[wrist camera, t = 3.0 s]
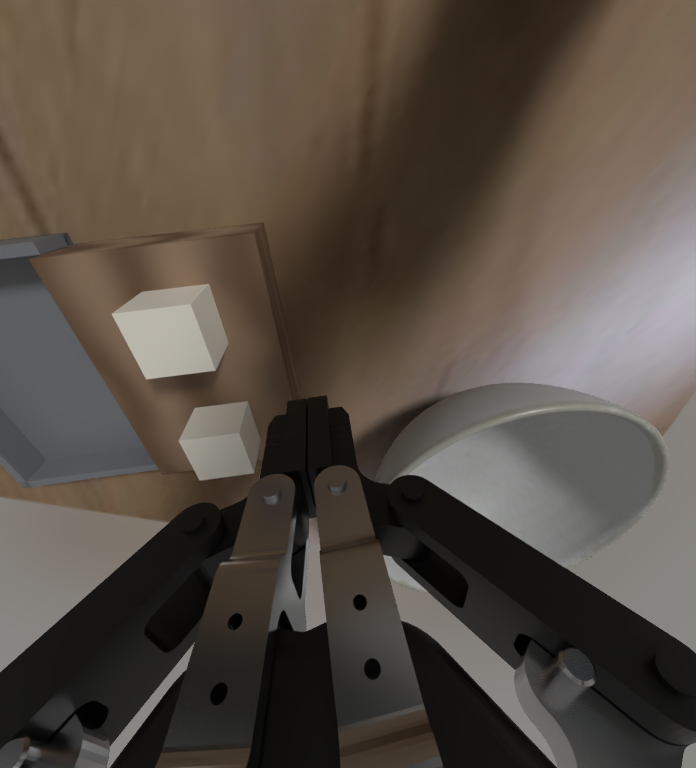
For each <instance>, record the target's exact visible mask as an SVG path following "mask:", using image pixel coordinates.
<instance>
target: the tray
mask: <svg viewBox="0 0 696 768" xmlns="http://www.w3.org/2000/svg"><path fill="white" fill-rule="evenodd" d="M72 245H73V243H72V242H71V240H70V238H69V236H68V234H67V233H61V234H52V235H43V236H34V237H26V238H17V239H8V240H0V465H1V466H2V467H3V468H4V469H5V470H6V471H7V472H8V473H9V474H10V475H11V476H12V477H13V478H14V479H15V480H16V481H17V482H18V483H19V484H20V485H21V486H22V487H23V488H26V487H34V486H41V485H49V484H56V483H63V482H71V481H78V480H86V479H93V478H101V477H108V476H116V475H123V474H130V473H138V472H145V471H153V470H159V469H158V468H157V466H156V465H155V463H154V461H153V460H152V458H151V456H150V455H149V453H148V452H147V450H146V448H145V447H144V445H143V443H142V442H141V440H140V439H139V437H138V435H137V434H136V432H135V431H134V429H133V427H132V426H131V424H130V422H129V421H128V419H127V418H126V416H125V414H124V413H123V411H122V410H121V408H120V406H119V405H118V403H117V401H116V400H115V398H114V397H113V395H112V393H111V392H110V390H109V388H108V387H107V385H106V384H105V382H104V380H103V379H102V377H101V376H100V374H99V372H98V371H97V369H96V367H95V366H94V364H93V363H92V361H91V359H90V358H89V356H88V355H87V353H86V351H85V350H84V348H83V346H82V345H81V343H80V342H79V340H78V338H77V337H76V335H75V334H74V332H73V330H72V329H71V327H70V325H69V324H68V322H67V321H66V319H65V317H64V316H63V314H62V312H61V311H60V309H59V308H58V306H57V304H56V303H55V301H54V300H53V298H52V296H51V295H50V293H49V291H48V290H47V288H46V287H45V285H44V283H43V282H42V280H41V279H40V277H39V275H38V274H37V272H36V270H35V269H34V267H33V266H32V264H31V262H30V261H29V259H31V258H34V257H38V256H41V255H44V254H47V253H50V252H53V251H57V250H60V249H63V248H66V247H69V246H72Z"/></svg>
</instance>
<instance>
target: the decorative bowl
mask: <svg viewBox="0 0 696 768" xmlns="http://www.w3.org/2000/svg"><path fill="white" fill-rule="evenodd" d="M668 469H669V454H668V449H667V446H666V443H665V441H664V439H663V437H662V436H661V434H660V433H659V432H658V430H657V429H656V428H655V427H654V426H653V425H652V424H651V423H649V422H648V421H647V420H645V419H644V418H642V417H641V416H639V415H637V414H635V413H633V412H632V411H630V410H628V409H626V408H623V407H621V406H619V405H616V404H614V403H611V402H609V401H606V400H603V399H601V398H598V397H595V396H592V395H588V394H585V393H581V392H578V391H574V390H570V389H566V388H561V387H556V386H550V385H542V384H533V383H502V384H492V385H486V386H481V387H476V388H472V389H468V390H465V391H462V392H459V393H456V394H454V395H451V396H449V397H447V398H445V399H443V400H441V401H439V402H437V403H435V404H434V405H432V406H430V407H429V408H427V409H426V410H425V411H423V412H422V413H420V414H419V415H418V416H417V417H416V418H414V419H413V420H412V421H411V422H410V423H409V424H408V425H407V426H406V427H405V428H404V429H403V430H402V431H401V433H400V434H399V435H398V436H397V438H396V439H395V440H394V442H393V443H392V445H391V446H390V448H389V449H388V451H387V453H386V454H385V456H384V458H383V460H382V462H381V464H380V466H379V468H378V471H377V473H376V476H375V479H374V482H378V483H385V484H391V483H392V482H393V481H394V480H395V479H397V478H398V477H401V476H404V475H416V476H420V477H423V478H425V479H427V480H428V481H430V482H431V483H433V484H435V485H436V486H438V487H439V488H441V489H442V490H444V491H446V492H447V493H449V494H450V495H452V496H453V497H455V498H456V499H458V500H460V501H461V502H463V503H464V504H466V505H467V506H469V507H471V508H472V509H474V510H475V511H477V512H478V513H480V514H482V515H483V516H485V517H486V518H488V519H489V520H491V521H492V522H494V523H496V524H497V525H499V526H500V527H502V528H503V529H505V530H507V531H508V532H510V533H511V534H513V535H514V536H516V537H518V538H519V539H521V540H522V541H524V542H525V543H527V544H528V545H530V546H532V547H533V548H535V549H536V550H538V551H539V552H541V553H543V554H544V555H546V556H547V557H549V558H550V559H552V560H554V561H555V562H557V563H558V564H560V565H561V566H563V567H564V568H566V569H568V568H571V567H573V566H575V565H577V564H579V563H581V562H583V561H584V560H587V559H588V558H590V557H592V556H594V555H595V554H597V553H598V552H600V551H602V550H603V549H605V548H606V547H608V546H609V545H611V544H612V543H614V542H615V541H616V540H618V539H619V538H620V537H622V536H623V535H624V534H625V533H626V532H628V531H629V530H630V529H631V528H632V527H633V526H634V525H635V524H636V523H637V522H638V521H639V520H640V519H641V518H642V517H643V516H644V515H645V514H646V513H647V512H648V510H649V509H650V508H651V506H652V505H653V504H654V502H655V501H656V499H657V498H658V496H659V494H660V492H661V491H662V489H663V486H664V484H665V482H666V478H667V475H668ZM383 557H384V560H385V564H386V568H387V571H388V575H389V579H390V580H391V581H393V582H395V583H397V584H399V585H401V586H404V587H406V588H409V589H413V590H417V591H421V592H426V593H429V592H428V591H427V590H425V589H424V588H423V587H422V586H421V585H420V584H419V583H418V582H416V581H415V580H414V579H413V578H412V577H411V576H410V575H409V574H408V573H406V572H405V571H404V570H403V569H402V568H401V567H400V566H399V565H398V564H396V562H395V561H394V560H393V559H392V557H391V556H386V555H383Z"/></svg>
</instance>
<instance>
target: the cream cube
mask: <svg viewBox="0 0 696 768" xmlns="http://www.w3.org/2000/svg"><path fill="white" fill-rule="evenodd" d="M112 316H113V318H114V320H115V322H116V323H117V325H118V327H119V329H120V331H121V333H122V335H123V337H124V339H125V341H126V342H127V344H128V346H129V348H130V350H131V352H132V354H133V356H134V358H135V359H136V361H137V363H138V365H139V367H140V369H141V371H142V373H143V375H144V376H145V378H146V379H154V378H161V377H169V376H177V375H185V374H193V373H201V372H209V371H216V369H217V367H218V365H219V363H220V360H221V358H222V356H223V354H224V352H225V350H226V348H227V346H228V344H229V343H228V340H227V337H226V334H225V331H224V328H223V325H222V322H221V319H220V316H219V313H218V310H217V307H216V304H215V301H214V298H213V295H212V292H211V289H210V286H209V284H204V285H195V286H187V287H179V288H170V289H162V290H153V291H145V292H141V293H140V294H138V295H137V296H135V297H134V298H133V299H131V300H130V301H129V302H127V303H126V304H124V305H123V306H122V307H120V308H119V309H117V310H116V311H115V312H113V313H112Z"/></svg>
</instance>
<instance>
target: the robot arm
mask: <svg viewBox="0 0 696 768" xmlns="http://www.w3.org/2000/svg"><path fill="white" fill-rule="evenodd" d="M265 445H266V446H265V449H264V456H263V462H262V468H261V475H260V480H258V481H257V482H256V483H255V484H254V485H253V486H252V488H251V489H250V491H249V494H248V497H246V498H245V499H243V500H242V501H240V502H238V503H236V504H233V505H231V506H228V507H226V508H224V509H221V510H219V509H218V507H216V506H215V505H213V504H211V503H199V504H195V505H193V506H191V507H189V508H187V509H185V510H184V511H182V512H181V513H180V514H179V515H178V516H176V517H175V518H174V519H173V520H172V521H171V522H170V523H169V524H167V525H166V526H165V527H164V528H163V529H162V530H161V531H160V532H158V533H157V534H156V535H155V536H154V537H153V538H152V539H151V540H149V541H148V542H147V543H146V544H145V545H144V546H143V547H142V548H140V549H139V550H138V551H137V552H136V553H135V554H134V555H132V556H131V557H130V558H129V559H128V560H127V561H126V562H125V563H123V564H122V565H121V566H120V567H119V568H118V569H117V570H115V571H114V572H113V573H112V574H111V575H110V576H109V577H108V578H107V579H105V580H104V581H103V582H102V583H101V584H100V585H98V586H97V587H96V588H95V589H94V590H93V591H92V592H91V593H89V594H88V595H87V596H86V597H85V598H84V599H83V600H82V601H80V602H79V603H78V604H77V605H76V606H75V607H74V608H73V609H71V610H70V611H69V612H68V613H67V614H66V615H65V616H63V617H62V618H61V619H60V620H59V621H58V622H57V623H56V624H55V625H53V626H52V627H51V628H50V629H49V630H48V631H47V632H45V633H44V634H43V635H42V636H41V637H40V638H39V639H38V640H36V641H35V642H34V643H33V644H32V645H31V646H30V647H28V648H27V649H26V650H25V651H24V652H23V653H22V654H21V655H19V656H18V657H17V658H16V659H15V660H14V661H13V662H12V663H10V664H9V665H8V666H7V667H6V668H5V669H4V670H2V671H1V672H0V768H107V763H108V759H109V752H110V746H111V744H112V743H113V742H114V741H115V740H116V738H117V737H118V736H119V734H120V733H121V732H122V731H123V729H124V728H125V727H126V726H127V725H128V723H129V722H130V721H131V719H133V717H134V716H135V715H136V714H137V712H138V711H139V710H140V709H141V707H142V706H143V705H144V703H145V702H146V701H147V700H148V699H149V698H150V696H151V695H152V694H153V693H154V691H155V690H156V689H157V688H158V686H159V685H160V684H161V683H162V682H163V680H164V679H165V678H166V677H167V675H168V674H169V673H170V672H171V670H172V669H173V668H174V667H175V665H176V664H177V663H178V662H179V661H180V659H181V658H182V657H183V656H184V654H185V653H186V652H187V651H188V649H189V648H190V647H191V646H192V645H193V643H194V642H195V643H194V647H193V650H192V653H191V657H190V660H189V663H188V666H187V670H185V671H184V672H183V673H182V675H181V676H180V677H179V678H178V679H177V680H176V681H175V682H174V684H173V685H172V686H171V687H170V688H169V690H168V691H167V692H166V694H165V695H164V696H163V698H162V699H161V700H160V702H159V703H158V704H157V706H156V707H155V708H154V710H153V711H152V712H151V714H150V715H149V716H148V718H147V719H146V720H145V722H144V723H143V724H142V726H141V727H140V728H139V730H138V731H137V732H136V734H135V735H134V736H133V737H132V739H131V740H130V741H129V743H128V744H127V745H126V747H125V748H124V749H123V751H122V752H121V753H120V755H119V756H118V757H117V759H116V760H115V761H114V763H113V764H112V765H111V767H110V768H557V767H556V766H555V765H554V764H553V763H552V762H551V761H550V760H549V759H548V758H547V757H546V756H545V755H544V754H543V753H542V751H541V750H540V749H538V747H537V746H536V745H535V744H534V743H533V742H532V741H531V740H530V739H529V738H528V737H527V736H526V735H525V734H524V732H522V730H520V728H519V727H518V726H517V725H516V724H515V723H514V722H513V721H512V720H511V719H510V718H509V717H508V716H507V715H506V714H505V713H504V712H503V710H502V709H501V708H500V707H499V706H498V705H497V704H496V703H495V702H494V701H493V700H492V699H491V698H490V697H489V696H488V695H487V693H486V692H485V691H484V690H483V689H482V688H481V687H480V686H479V685H478V684H477V683H476V682H475V681H474V680H473V679H472V678H471V677H470V676H469V675H468V673H467V672H466V671H464V669H463V668H462V667H461V666H460V665H459V664H458V663H457V662H456V661H455V660H454V659H453V658H452V657H451V656H450V655H449V653H447V652H446V650H445V649H444V648H443V647H442V646H441V645H440V644H439V643H438V642H437V641H436V640H434V639H433V638H432V637H431V636H429V635H428V634H427V633H425V632H424V631H422V630H421V629H419V628H417V627H415V626H413V625H411V624H409V623H407V622H403V621H401V619H400V615H399V612H398V608H397V605H396V601H395V597H394V593H393V590H392V586H391V582H390V579H389V575H388V571H387V568H386V564H385V560H384V557H383V555H386V556H391V557H392V559H393V560H394V561H395V562H396V564H398V565H399V566H400V567H401V568H402V569H403V570H404V571H405V572H406V573H408V574H409V575H410V576H411V577H412V578H413V579H414V580H415V581H416V582H418V583H419V584H420V585H421V586H422V587H423V588H424V589H425V590H427V591H428V592H429V593H430V594H431V595H432V596H433V597H434V598H435V599H437V600H438V601H439V602H440V603H441V604H442V605H443V606H444V607H446V608H447V609H448V610H449V611H450V612H451V613H452V614H453V615H455V616H456V617H457V618H458V619H459V620H460V621H461V622H462V623H463V624H465V625H466V626H467V627H468V628H469V629H470V630H471V631H472V632H473V633H474V634H476V635H477V636H478V637H479V638H480V639H481V640H482V641H483V642H485V643H486V644H487V645H488V646H489V647H490V648H491V649H492V650H493V651H495V652H496V653H497V654H498V655H499V656H500V657H501V658H502V659H503V660H505V661H506V662H507V663H508V664H509V665H510V666H511V667H512V668H514V669H515V676H514V683H515V690H516V693H517V697H518V699H519V702H520V704H521V706H522V708H523V710H524V712H525V713H526V715H527V716H528V718H529V719H530V720H531V721H532V723H533V724H534V725H535V726H536V727H537V729H538V730H539V731H540V732H541V733H542V735H543V736H544V738H545V739H546V741H547V743H548V744H549V746H550V748H551V750H552V752H553V755H554V757H555V759H556V762H557V766H558V768H681V766H682V758H683V753H684V750H685V748H686V747H687V746H688V745H690V744H693V743H695V742H696V653H695V652H693V651H692V650H691V649H690V648H689V647H687V646H686V645H684V644H683V643H682V642H680V641H679V640H677V639H676V638H674V637H672V636H671V635H669V634H668V633H666V632H664V631H663V630H662V629H660V628H658V627H657V626H655V625H654V624H652V623H651V622H649V621H647V620H646V619H644V618H643V617H641V616H640V615H638V614H636V613H635V612H633V611H632V610H630V609H628V608H627V607H626V606H624V605H622V604H621V603H619V602H617V601H616V600H615V599H613V598H611V597H610V596H608V595H607V594H605V593H604V592H602V591H600V590H599V589H597V588H596V587H594V586H593V585H591V584H589V583H588V582H586V581H585V580H583V579H582V578H580V577H579V576H577V575H575V574H574V573H572V572H571V571H569V570H568V569H566V568H564V567H563V566H561V565H560V564H558V563H557V562H555V561H554V560H552V559H550V558H549V557H547V556H546V555H544V554H543V553H541V552H539V551H538V550H536V549H535V548H533V547H532V546H530V545H528V544H527V543H525V542H524V541H522V540H521V539H519V538H518V537H516V536H514V535H513V534H511V533H510V532H508V531H507V530H505V529H503V528H502V527H500V526H499V525H497V524H496V523H494V522H492V521H491V520H489V519H488V518H486V517H485V516H483V515H482V514H480V513H478V512H477V511H475V510H474V509H472V508H471V507H469V506H467V505H466V504H464V503H463V502H461V501H460V500H458V499H456V498H455V497H453V496H452V495H450V494H449V493H447V492H446V491H444V490H442V489H441V488H439V487H438V486H436V485H435V484H433V483H431V482H430V481H428V480H427V479H425V478H423V477H420V476H416V475H404V476H401V477H398V478H397V479H395V480H394V481H393V482H392V483H391V484H385V483H378V482H374V481H371V480H369V479H367V478H366V477H364V476H363V475H362V474H361V472H360V471H359V469H358V467H357V462H356V456H355V450H354V444H353V438H352V432H351V426H350V420H349V414H348V413H347V412H346V411H345V410H344V409H343V408H342V407H336V408H329V406H328V400H327V396H320V397H312V398H308V400H307V398H305V399H297V400H289V401H287V410H286V414H284V415H276V416H275V417H274V418H273V420H272V421H271V422H270V424H269V425H268V431H267V438H266V443H265ZM316 510H317V515H316ZM314 517H317V519H318V528H319V537H320V547H321V551H320V563H321V574H322V582H323V593H324V602H325V611H326V620H327V622H326V623H324V624H321V625H319V626H317V627H315V628H313V629H311V630H309V631H306V614H305V595H306V581H307V568H308V554H309V518H314Z"/></svg>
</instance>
